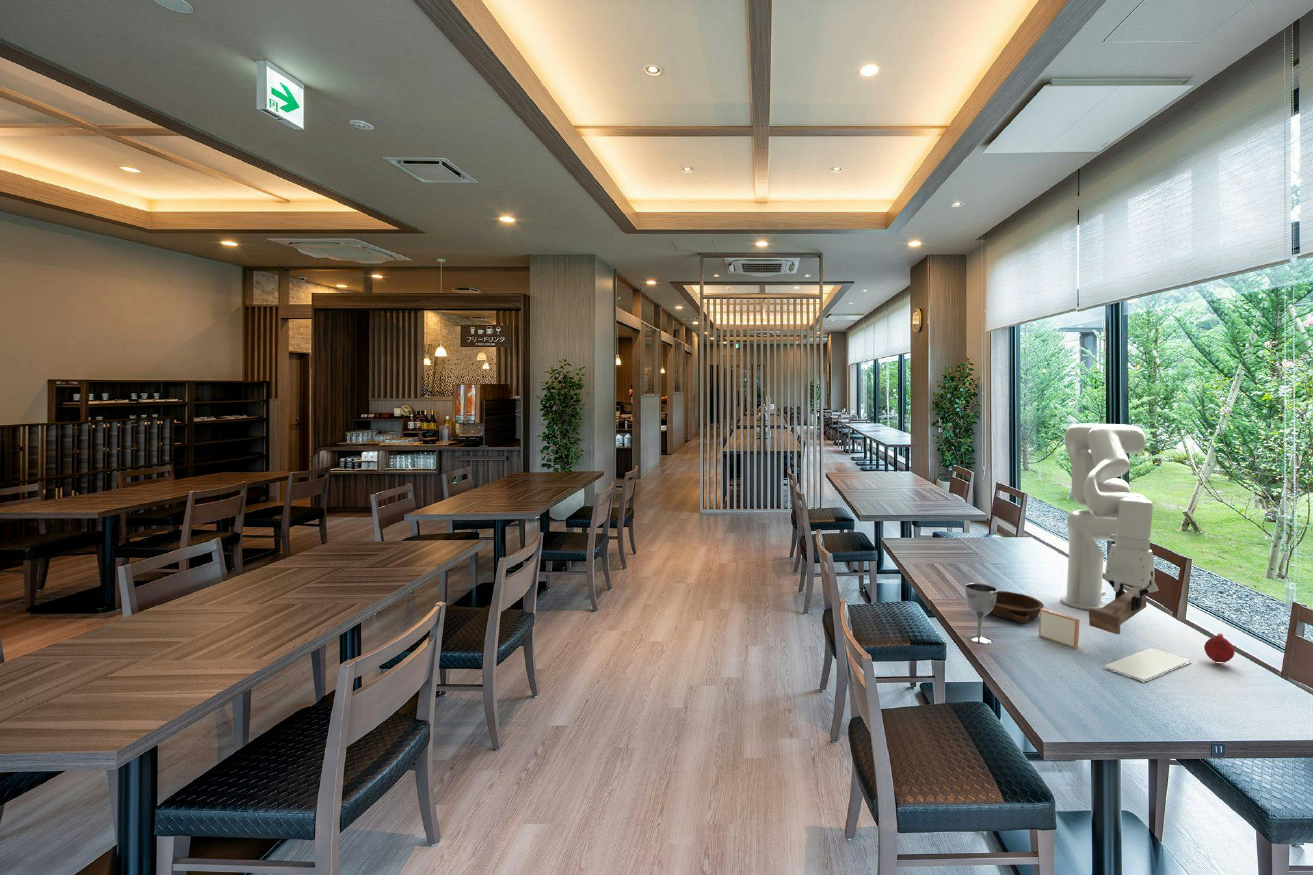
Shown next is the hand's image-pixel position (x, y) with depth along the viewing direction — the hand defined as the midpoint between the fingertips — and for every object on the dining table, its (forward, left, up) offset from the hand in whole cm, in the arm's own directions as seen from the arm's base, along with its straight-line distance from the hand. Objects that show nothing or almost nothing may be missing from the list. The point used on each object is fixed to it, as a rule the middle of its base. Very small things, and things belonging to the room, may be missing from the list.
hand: (1127, 607), depth 174 cm
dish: (+3, -31, -12) cm, 33 cm away
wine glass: (+32, -22, -11) cm, 40 cm away
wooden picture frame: (+13, -11, -11) cm, 20 cm away
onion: (-9, +17, -11) cm, 22 cm away
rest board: (+9, +9, -11) cm, 17 cm away
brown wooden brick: (+2, 0, -2) cm, 3 cm away
